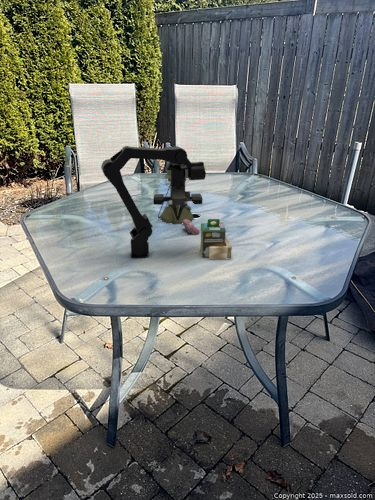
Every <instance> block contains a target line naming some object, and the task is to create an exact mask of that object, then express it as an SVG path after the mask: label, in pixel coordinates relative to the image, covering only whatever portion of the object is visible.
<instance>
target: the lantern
mask: <svg viewBox="0 0 375 500" xmlns="http://www.w3.org/2000/svg"><path fill="white" fill-rule="evenodd" d="M168 163H171V162H168ZM171 164H172V165H180V167H185V165H183V164H175V163H171ZM185 171H186V169H185ZM164 178H165V180H167V181H168V183H170V170H166V174H165V175H164ZM189 181H190V180H188V178H186V173H185V182H187V183H189ZM165 184H166V186H167V187H168V189H167V191H166V194H165V196H164V197H168V196H167V195H168V194H169V192H170V185H169V186H168V184H167V183H165ZM163 205H164V203H163V204H162V205H160V209H159V213H158V216H157V219H160V221H161V220H162V221H161V222H163V223H165V222H166V224H169V223H172V224H171V225H182V221H183V220H186V219H187V220H190V221H191V222H193V221H194V219H195V218H194V216H193V213H192V208H191V207H190V206H189V205H187V206H185V207H184V208H183V210H182V213H181V216H180V219H179V221H177V219H176V216H175V213H174V211H173V209H172V207H171V206H169V205H168V202H167V203H166V205H165V207H164V209H163ZM176 207H177V215H178V209H179V205H176ZM162 209H163V211H162ZM161 211H162V212H161ZM192 220H193V221H192Z"/></svg>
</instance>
